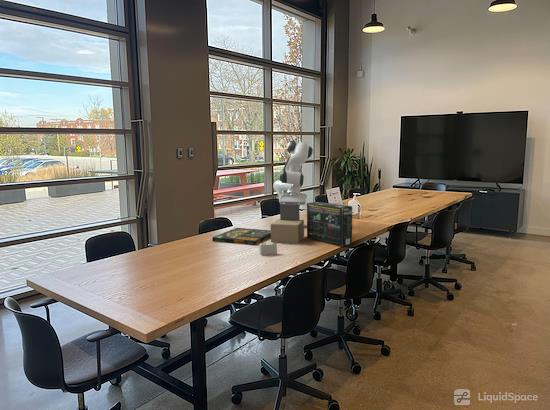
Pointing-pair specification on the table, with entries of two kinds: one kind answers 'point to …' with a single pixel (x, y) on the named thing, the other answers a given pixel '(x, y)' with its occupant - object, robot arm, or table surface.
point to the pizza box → (243, 236)
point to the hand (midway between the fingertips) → (290, 208)
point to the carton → (287, 233)
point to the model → (268, 248)
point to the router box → (329, 223)
